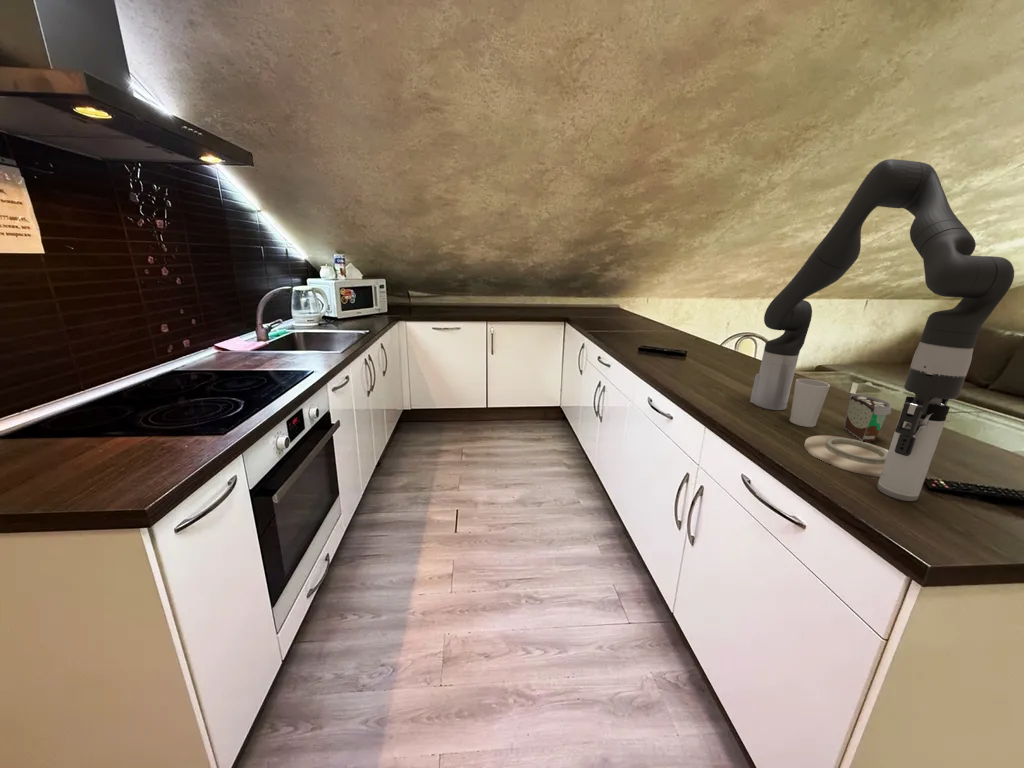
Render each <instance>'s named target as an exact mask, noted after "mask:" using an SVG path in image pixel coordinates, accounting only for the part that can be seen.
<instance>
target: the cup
mask: <svg viewBox="0 0 1024 768" xmlns="http://www.w3.org/2000/svg"><path fill="white" fill-rule="evenodd" d="M830 386H831V385H830V384H829V383H827V382H825V381H822V380H817V379H812V378H811V379H810V378H797V379H795V384H794V390H793V396H792V397H793V398H792V403H791V411H790V417H789V421H790V423H792V424H795V425H797V426H801V427H805V428H807V427H808V428H815V427H816V426H817V423H818V420H819V416H820V413H821V411H822V408H823V406H824V403H825V400H826V398H827V395H828V391H829V390H830ZM814 426H815V427H814Z"/></svg>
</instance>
